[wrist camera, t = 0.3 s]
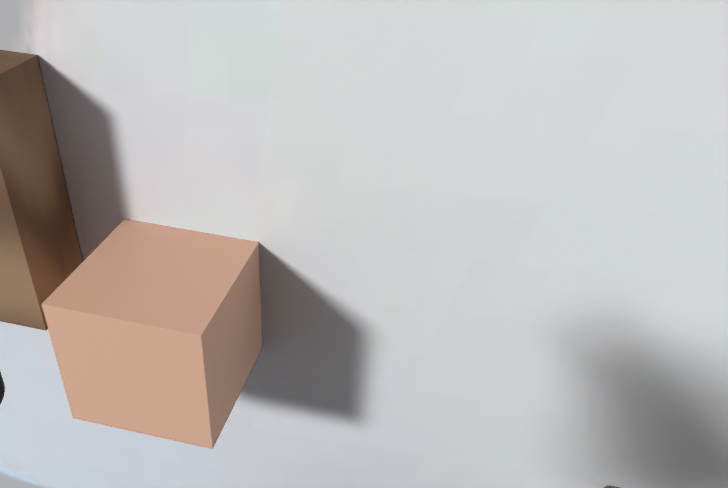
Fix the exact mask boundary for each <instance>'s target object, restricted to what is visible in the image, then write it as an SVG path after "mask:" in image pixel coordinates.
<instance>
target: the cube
mask: <svg viewBox="0 0 728 488" xmlns="http://www.w3.org/2000/svg"><path fill="white" fill-rule="evenodd" d="M42 308H43V311H44V315H45V319H46V322H47V326H48V329H49V333H50V337H51V340H52V344H53V348H54V351H55V355H56V358H57V362H58V366H59V369H60V373H61V377H62V380H63V384H64V387H65V391H66V395H67V398H68V402H69V405H70V409H71V413H72V416H73V418H75V419H80V420H84V421H89V422H93V423H98V424H102V425H107V426H111V427H116V428H120V429H125V430H129V431H134V432H138V433H143V434H147V435H152V436H156V437H161V438H165V439H170V440H174V441H179V442H183V443H188V444H192V445H197V446H202V447H206V448H211V449H213V447H214V445H215V443H216V441H217V439H218V437H219V435H220V433H221V431H222V429H223V427H224V425H225V423H226V421H227V419H228V417H229V415H230V413H231V411H232V409H233V407H234V404H235V402H236V400H237V398H238V396H239V394H240V392H241V390H242V388H243V386H244V384H245V382H246V380H247V378H248V376H249V374H250V372H251V370H252V368H253V366H254V364H255V362H256V360H257V358H258V356H259V354H260V352H261V350H262V323H261V293H260V263H259V242H255V241H249V240H243V239H237V238H232V237H226V236H220V235H214V234H209V233H203V232H197V231H192V230H186V229H180V228H174V227H169V226H163V225H157V224H151V223H146V222H140V221H134V220H129V219H124V220H123V221H122V222H121V223H120V224H119V225H118V226H117V227H116V228H115V229H114V230H113V231H112V232H111V233H110V234H109V236H108V237H107V238H106V239H105V240H104V241H103V242H102V243H101V244H100V245H99V246H98V247H97V248H96V249H95V250H94V251H93V252H92V253H91V254H90V255H89V256H88V257H87V258H86V259H85V260H84V261H83V262H82V263H81V264H80V265H79V266H78V267H77V268H76V269H75V270H74V271H73V272H72V273H71V274H70V275H69V277H68V278H67V279H66V280H65V281H64V282H63V283H62V284H61V285H60V286H59V287H58V288H57V289H56V290H55V291H54V292H53V293H52V294H51V295H50V296H49V297H48V298H47V299H46V300H45V301H44V302H43V303H42Z"/></svg>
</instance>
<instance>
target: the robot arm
mask: <svg viewBox="0 0 728 488" xmlns="http://www.w3.org/2000/svg"><path fill="white" fill-rule="evenodd" d="M4 392H5V386H4V382H3V379H2V375H1V372H0V404H1V402H2V399H3V397H4ZM604 488H619V487H615V486H605V487H604Z"/></svg>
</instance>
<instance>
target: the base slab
mask: <svg viewBox="0 0 728 488" xmlns="http://www.w3.org/2000/svg"><path fill="white" fill-rule="evenodd" d="M82 262H83V260H82V256H81V251H80V247H79V242H78V238H77V233H76V229H75V224H74V220H73V215H72V211H71V206H70V202H69V197H68V193H67V188H66V184H65V179H64V175H63V170H62V166H61V161H60V157H59V152H58V148H57V143H56V139H55V134H54V130H53V125H52V120H51V116H50V111H49V107H48V102H47V98H46V93H45V89H44V84H43V80H42V75H41V71H40V66H39V62H38V57H37V55H33V54H26V53H18V52H11V51H4V50H0V321H2V322H7V323H12V324H17V325H22V326H27V327H32V328H37V329H42V330H47V329H48V326H47V322H46V319H45V315H44V311H43V308H42V303H43V302H44V301H45V300H46V299H47V298H48V297H49V296H50V295H51V294H52V293H53V292H54V291H55V290H56V289H57V288H58V287H59V286H60V285H61V284H62V283H63V282H64V281H65V280H66V279H67V278H68V277H69V275H70V274H71V273H72V272H73V271H74V270H75V269H76V268H77V267H78V266H79V265H80V264H81V263H82Z"/></svg>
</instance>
